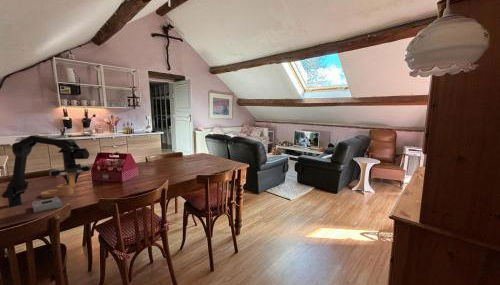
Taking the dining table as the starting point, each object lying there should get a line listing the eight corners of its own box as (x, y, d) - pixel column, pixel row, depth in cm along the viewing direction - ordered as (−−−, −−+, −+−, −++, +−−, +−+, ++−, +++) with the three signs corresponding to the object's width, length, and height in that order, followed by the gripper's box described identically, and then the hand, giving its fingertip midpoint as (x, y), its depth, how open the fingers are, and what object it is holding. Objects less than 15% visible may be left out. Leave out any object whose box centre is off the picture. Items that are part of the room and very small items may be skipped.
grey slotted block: (32, 207, 132) (32, 201, 131) (59, 201, 141) (58, 196, 140) (34, 213, 124) (33, 206, 123) (62, 206, 132) (61, 200, 132)
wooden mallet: (75, 192, 158) (75, 182, 158) (68, 196, 150) (67, 186, 150) (46, 194, 155) (45, 184, 154) (38, 198, 147) (36, 188, 146)
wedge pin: (67, 187, 138) (66, 174, 137) (75, 185, 141) (74, 173, 140) (68, 188, 136) (67, 175, 135) (76, 187, 138) (75, 174, 138)
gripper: (50, 163, 124) (53, 190, 126) (90, 158, 138) (93, 183, 140) (48, 161, 132) (51, 186, 133) (86, 156, 145) (88, 180, 147)
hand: (71, 184), depth 138 cm, fingers closed on wedge pin, 3 cm apart
